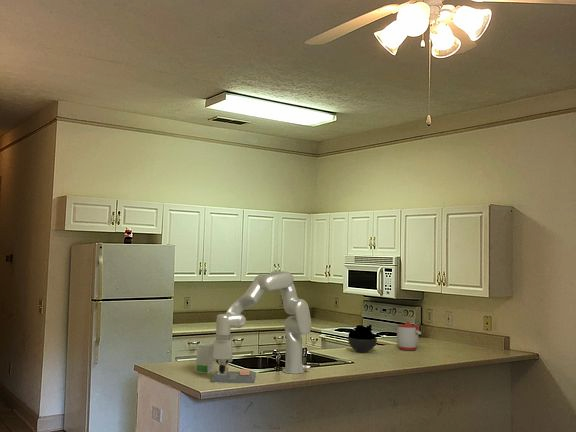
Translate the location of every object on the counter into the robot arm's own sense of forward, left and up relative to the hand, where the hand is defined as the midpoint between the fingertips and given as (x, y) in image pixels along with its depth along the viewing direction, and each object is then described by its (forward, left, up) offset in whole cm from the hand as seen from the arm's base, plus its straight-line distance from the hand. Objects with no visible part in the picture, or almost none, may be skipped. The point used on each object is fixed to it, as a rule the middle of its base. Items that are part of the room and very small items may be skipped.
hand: (222, 372), depth 322 cm
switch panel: (-6, -6, -4) cm, 9 cm away
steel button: (0, 0, -2) cm, 2 cm away
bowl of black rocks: (-86, -98, -5) cm, 130 cm away
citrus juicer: (-121, -113, -5) cm, 165 cm away
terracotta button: (-12, 0, 0) cm, 12 cm away
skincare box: (+12, -22, -5) cm, 25 cm away
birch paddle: (-1, -12, -2) cm, 12 cm away
